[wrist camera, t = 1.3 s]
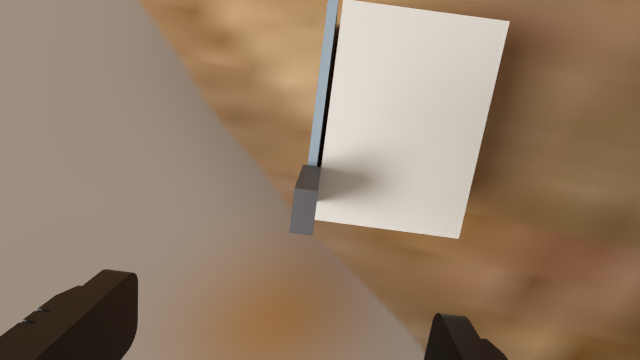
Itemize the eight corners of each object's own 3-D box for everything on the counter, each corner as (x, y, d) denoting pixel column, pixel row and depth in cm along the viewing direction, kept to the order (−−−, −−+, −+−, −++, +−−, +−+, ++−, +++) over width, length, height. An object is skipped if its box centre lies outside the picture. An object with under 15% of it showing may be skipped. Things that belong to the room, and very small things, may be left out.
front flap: (325, 26, 31) (320, -36, 16) (339, 28, 31) (347, -32, 16) (306, 179, 35) (287, 250, 19) (319, 181, 35) (310, 253, 19)
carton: (339, 27, 32) (343, -1, 22) (454, 42, 32) (509, 21, 22) (318, 183, 35) (314, 219, 25) (422, 197, 35) (458, 238, 25)
